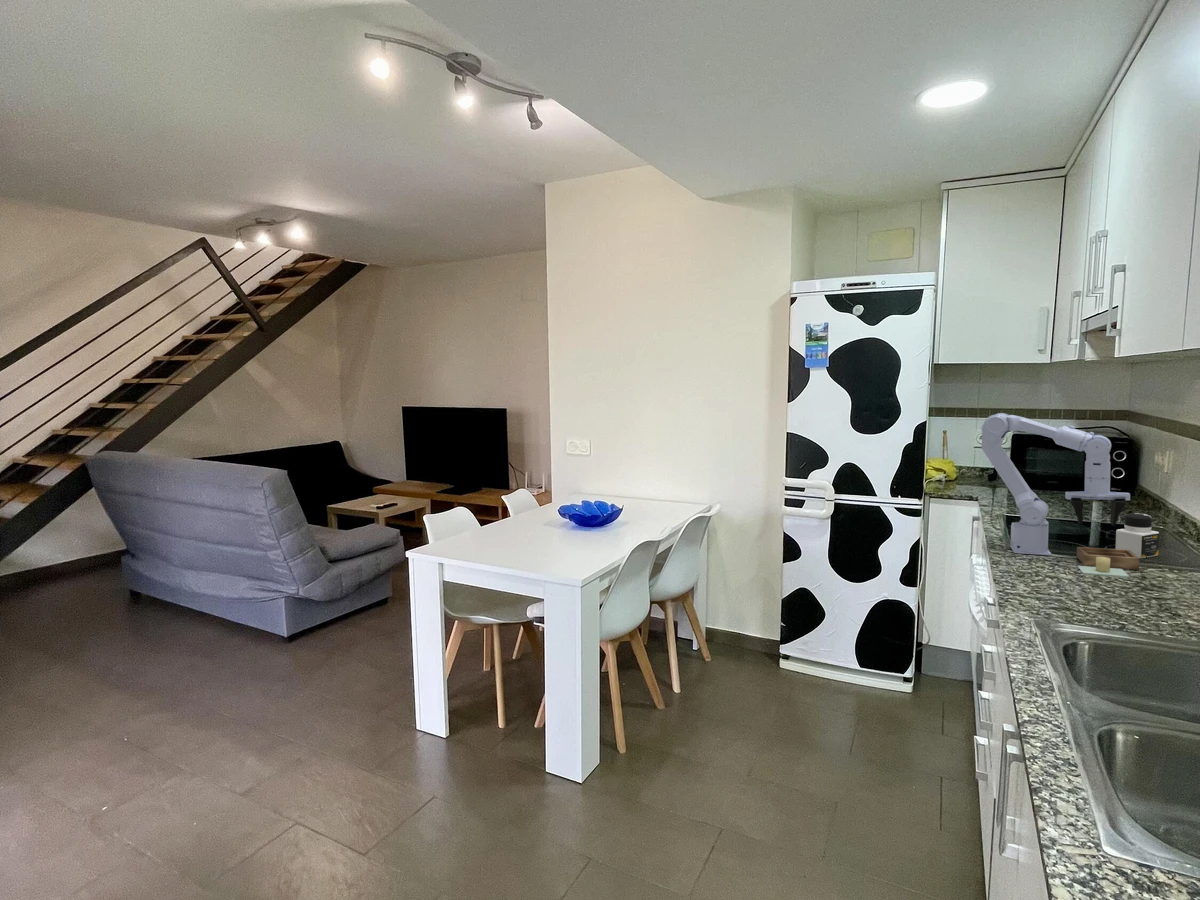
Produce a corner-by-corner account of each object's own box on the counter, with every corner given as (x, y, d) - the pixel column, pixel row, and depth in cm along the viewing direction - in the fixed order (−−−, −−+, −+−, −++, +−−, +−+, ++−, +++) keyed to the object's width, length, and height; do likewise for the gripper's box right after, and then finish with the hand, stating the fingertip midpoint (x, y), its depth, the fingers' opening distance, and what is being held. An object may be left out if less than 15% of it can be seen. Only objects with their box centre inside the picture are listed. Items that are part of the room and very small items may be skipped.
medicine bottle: (1141, 558, 179) (1143, 518, 178) (1114, 552, 186) (1116, 513, 185) (1158, 555, 181) (1160, 515, 180) (1131, 549, 188) (1133, 511, 187)
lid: (1083, 576, 169) (1083, 560, 168) (1077, 569, 175) (1078, 553, 174) (1129, 579, 164) (1129, 563, 164) (1121, 572, 170) (1122, 556, 170)
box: (1084, 566, 175) (1084, 555, 175) (1076, 557, 183) (1077, 546, 183) (1139, 570, 170) (1139, 558, 169) (1128, 561, 178) (1129, 549, 177)
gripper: (1069, 479, 178) (1068, 526, 179) (1134, 480, 172) (1133, 528, 173) (1064, 475, 184) (1063, 520, 186) (1126, 476, 178) (1125, 522, 179)
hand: (1096, 524), depth 180 cm, fingers open, 7 cm apart
